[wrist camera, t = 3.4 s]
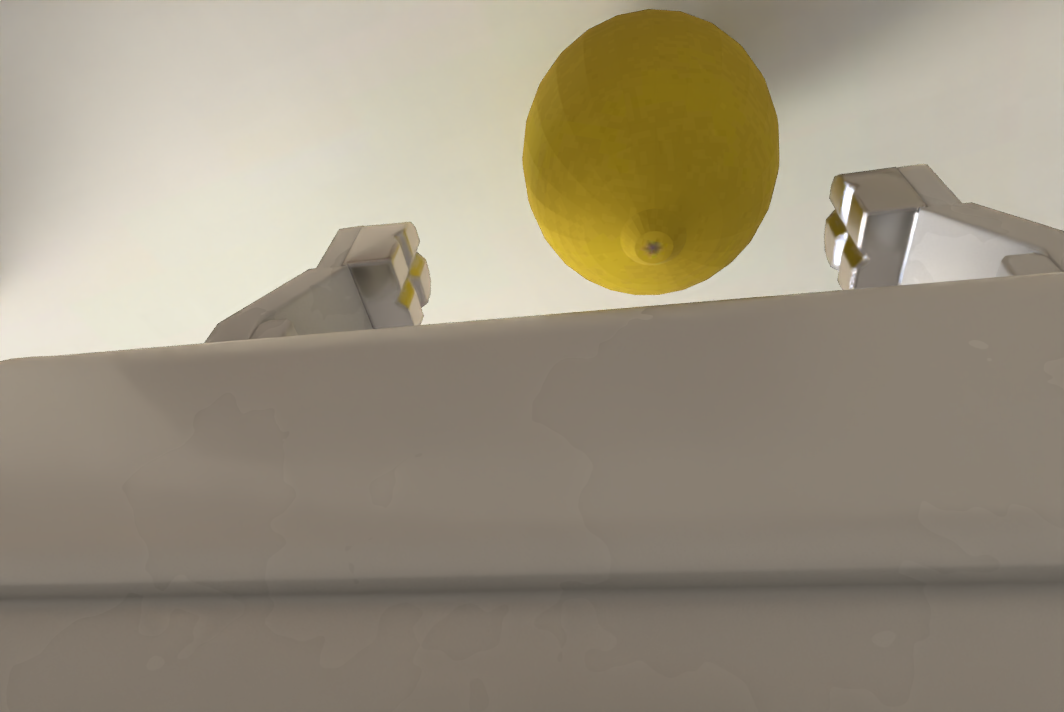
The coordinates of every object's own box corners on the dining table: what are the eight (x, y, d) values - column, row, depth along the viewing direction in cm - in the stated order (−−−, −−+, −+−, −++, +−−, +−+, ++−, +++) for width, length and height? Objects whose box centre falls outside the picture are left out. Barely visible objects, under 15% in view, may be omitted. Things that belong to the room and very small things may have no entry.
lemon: (740, -58, 15) (820, 52, 9) (752, 160, 19) (816, 343, 13) (513, 6, 17) (457, 137, 11) (565, 199, 20) (544, 379, 14)
